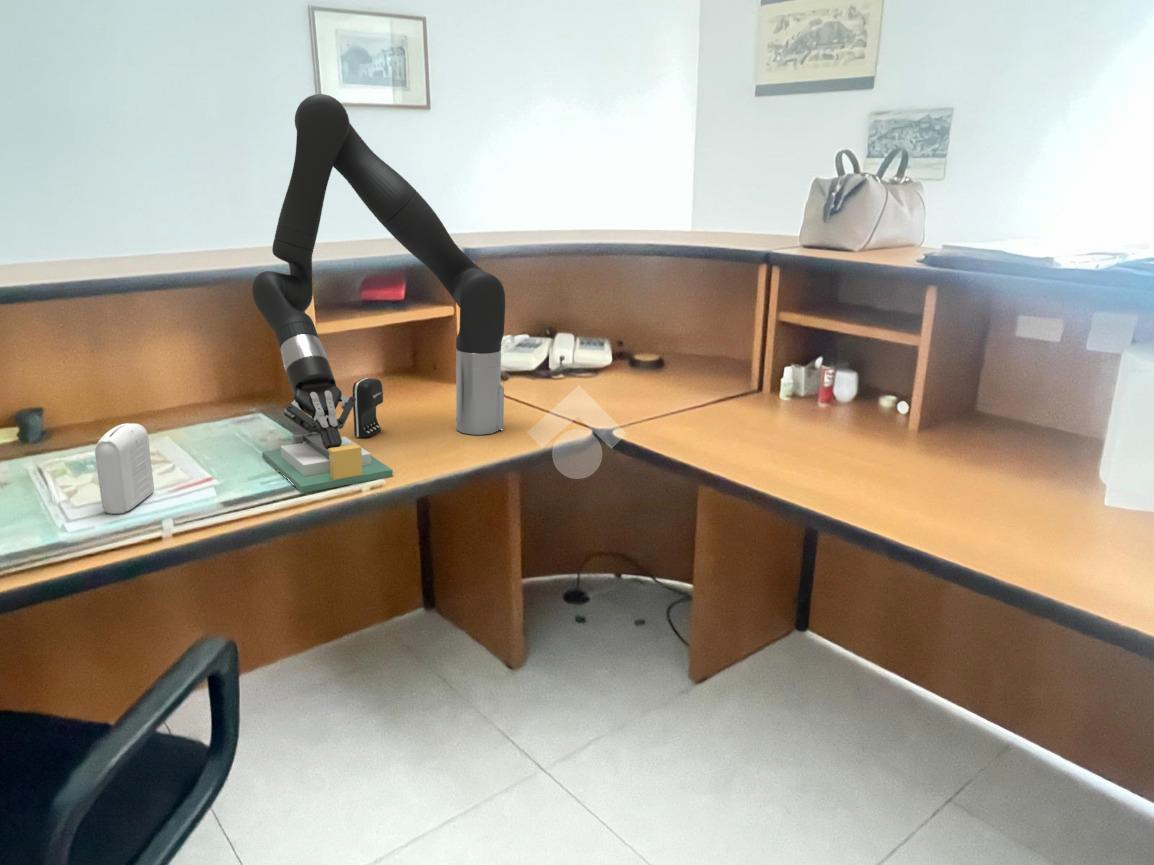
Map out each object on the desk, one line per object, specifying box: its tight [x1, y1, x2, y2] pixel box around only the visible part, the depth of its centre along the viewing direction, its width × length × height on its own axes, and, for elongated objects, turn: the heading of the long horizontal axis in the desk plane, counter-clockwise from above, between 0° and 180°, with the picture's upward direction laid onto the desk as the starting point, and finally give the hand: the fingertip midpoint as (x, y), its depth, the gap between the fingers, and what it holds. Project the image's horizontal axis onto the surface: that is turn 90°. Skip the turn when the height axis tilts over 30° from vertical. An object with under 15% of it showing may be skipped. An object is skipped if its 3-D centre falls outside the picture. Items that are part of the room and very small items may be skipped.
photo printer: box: [94, 423, 155, 515], centre depth 123 cm, size 10×4×12 cm, turn 3°
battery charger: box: [352, 377, 384, 438], centre depth 162 cm, size 7×4×11 cm, turn 167°
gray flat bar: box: [301, 432, 329, 457], centre depth 143 cm, size 16×3×1 cm, turn 38°
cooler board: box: [261, 433, 394, 494], centre depth 143 cm, size 21×16×6 cm
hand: (335, 449), depth 138 cm, fingers closed
